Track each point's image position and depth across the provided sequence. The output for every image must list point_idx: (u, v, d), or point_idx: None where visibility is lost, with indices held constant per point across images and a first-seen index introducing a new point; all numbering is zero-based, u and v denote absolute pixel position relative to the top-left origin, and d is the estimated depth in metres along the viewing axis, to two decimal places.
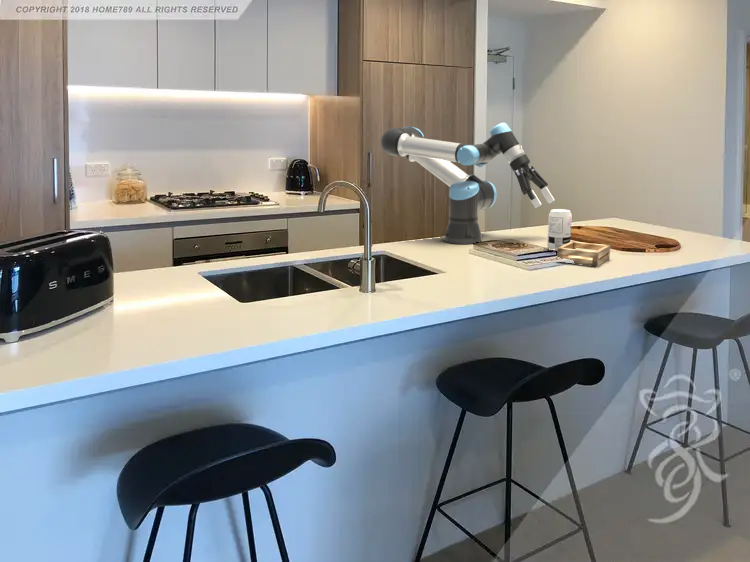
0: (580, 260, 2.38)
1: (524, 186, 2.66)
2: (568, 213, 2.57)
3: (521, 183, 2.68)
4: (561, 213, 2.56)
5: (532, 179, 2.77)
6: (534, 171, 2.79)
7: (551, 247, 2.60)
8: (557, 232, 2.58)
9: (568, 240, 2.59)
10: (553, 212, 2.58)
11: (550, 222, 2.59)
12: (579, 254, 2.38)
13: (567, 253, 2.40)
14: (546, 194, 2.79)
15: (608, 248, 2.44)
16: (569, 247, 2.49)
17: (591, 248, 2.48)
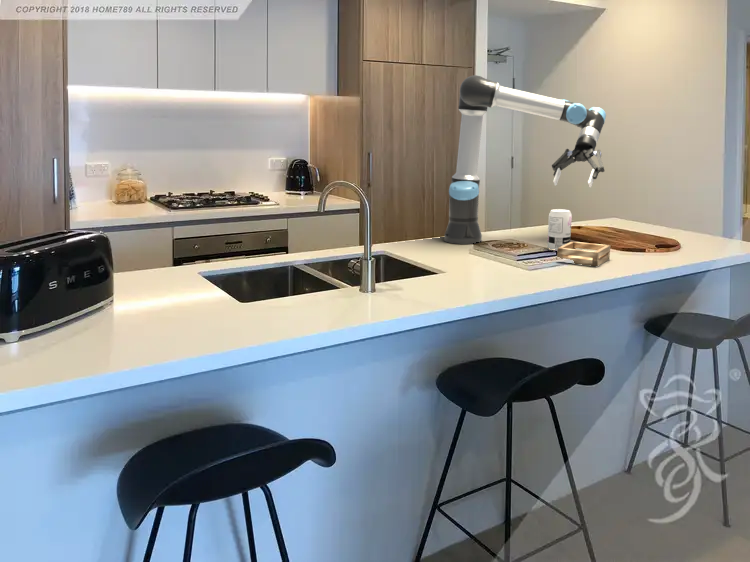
0: (580, 260, 2.38)
1: None
2: (568, 213, 2.57)
3: None
4: (561, 213, 2.56)
5: (571, 160, 2.71)
6: (567, 157, 2.75)
7: (551, 247, 2.60)
8: (557, 232, 2.58)
9: (568, 240, 2.59)
10: (553, 212, 2.58)
11: (550, 222, 2.59)
12: (579, 254, 2.38)
13: (567, 253, 2.40)
14: (558, 176, 2.70)
15: (608, 248, 2.44)
16: (569, 247, 2.49)
17: (591, 248, 2.48)
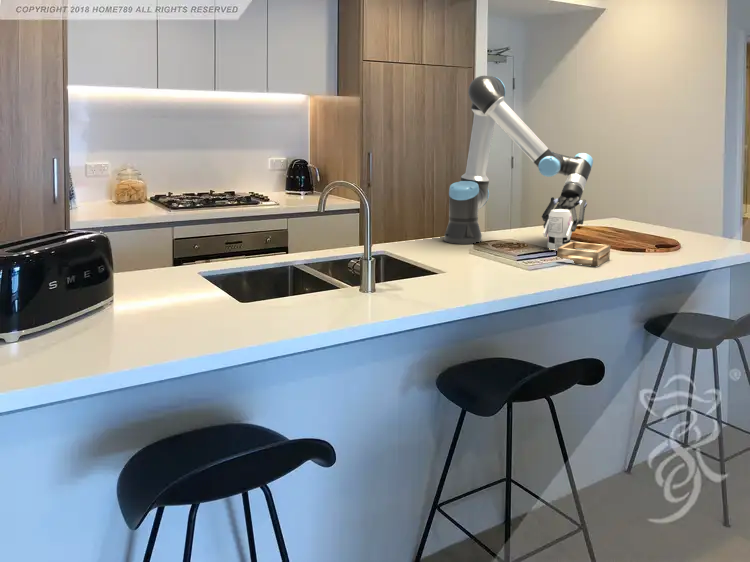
0: (580, 260, 2.38)
1: (583, 219, 2.59)
2: (568, 213, 2.57)
3: (583, 214, 2.59)
4: (561, 213, 2.56)
5: (559, 208, 2.65)
6: (554, 205, 2.68)
7: (551, 247, 2.60)
8: (557, 232, 2.58)
9: (568, 240, 2.59)
10: (553, 212, 2.58)
11: (550, 222, 2.59)
12: (579, 254, 2.38)
13: (567, 253, 2.40)
14: None
15: (608, 248, 2.44)
16: (569, 247, 2.49)
17: (591, 248, 2.48)
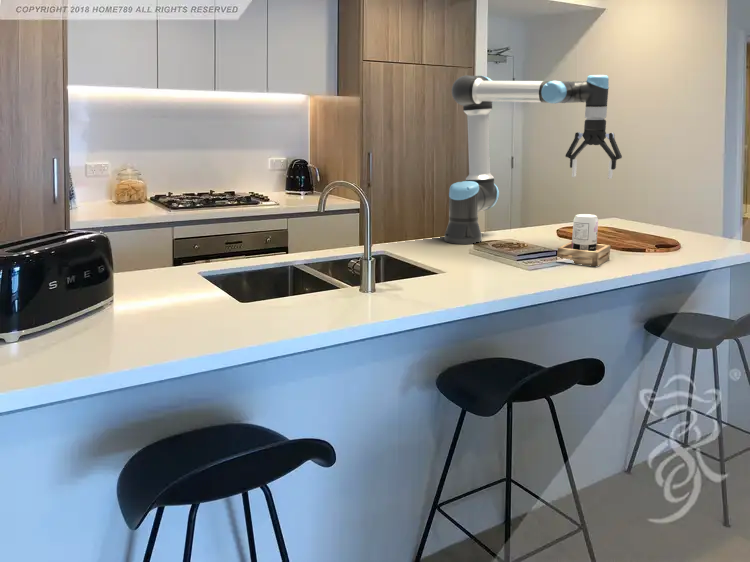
0: (580, 260, 2.38)
1: (620, 153, 2.52)
2: (594, 218, 2.39)
3: (617, 148, 2.51)
4: (587, 218, 2.38)
5: (584, 146, 2.58)
6: (579, 138, 2.60)
7: None
8: (583, 238, 2.39)
9: (594, 247, 2.41)
10: (578, 217, 2.40)
11: (575, 228, 2.41)
12: (579, 254, 2.38)
13: (567, 253, 2.40)
14: (575, 167, 2.62)
15: (608, 248, 2.44)
16: (569, 247, 2.49)
17: None
